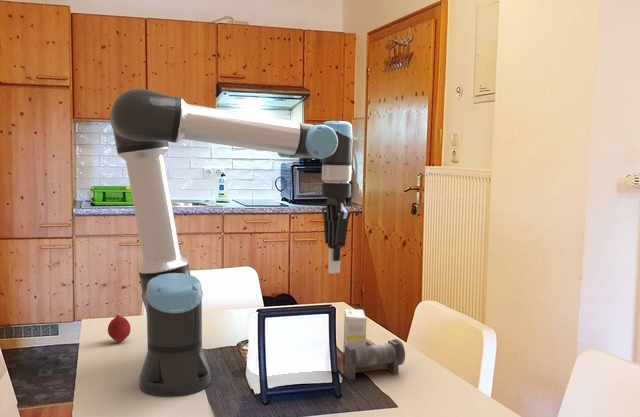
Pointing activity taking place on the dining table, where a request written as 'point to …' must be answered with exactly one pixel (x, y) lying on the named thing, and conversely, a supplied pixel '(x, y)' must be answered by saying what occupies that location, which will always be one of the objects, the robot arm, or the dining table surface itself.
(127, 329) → the onion
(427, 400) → the dining table surface
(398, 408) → the dining table surface
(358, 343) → the ink box
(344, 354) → the grey roller holder
